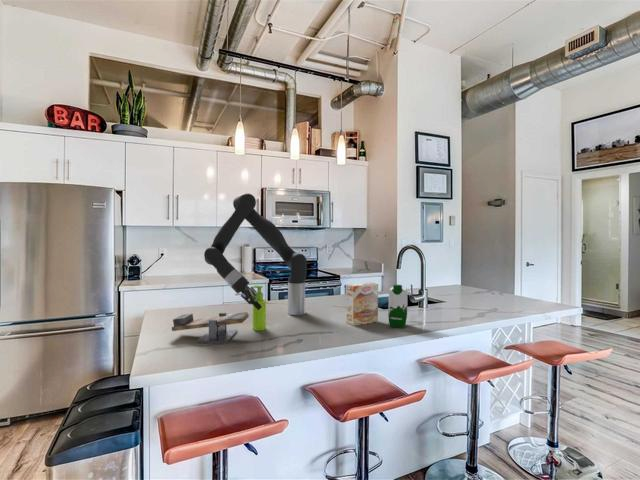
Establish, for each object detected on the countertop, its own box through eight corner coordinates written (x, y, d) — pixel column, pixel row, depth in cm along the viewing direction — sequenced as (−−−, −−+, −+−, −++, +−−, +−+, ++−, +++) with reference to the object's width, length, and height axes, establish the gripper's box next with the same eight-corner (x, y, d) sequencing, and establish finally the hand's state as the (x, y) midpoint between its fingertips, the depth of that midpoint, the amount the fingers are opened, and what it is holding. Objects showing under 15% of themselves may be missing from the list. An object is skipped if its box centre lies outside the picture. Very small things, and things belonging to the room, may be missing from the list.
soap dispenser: (251, 326, 164) (251, 285, 163) (266, 326, 165) (266, 284, 164) (249, 330, 158) (249, 287, 158) (265, 330, 159) (265, 287, 158)
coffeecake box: (353, 326, 167) (353, 285, 166) (345, 322, 173) (345, 283, 172) (378, 322, 174) (378, 283, 173) (370, 319, 180) (370, 281, 179)
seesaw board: (248, 316, 152) (247, 306, 152) (242, 322, 142) (240, 311, 142) (183, 324, 154) (181, 314, 154) (172, 331, 144) (170, 320, 144)
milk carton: (387, 327, 165) (387, 285, 165) (389, 322, 174) (390, 282, 173) (406, 328, 163) (406, 286, 162) (407, 324, 171) (408, 283, 170)
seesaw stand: (237, 332, 156) (237, 312, 156) (225, 343, 140) (225, 321, 140) (211, 331, 157) (211, 311, 157) (196, 343, 141) (196, 321, 141)
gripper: (237, 277, 154) (264, 304, 154) (246, 273, 168) (270, 298, 168) (226, 289, 155) (252, 316, 154) (235, 284, 169) (260, 308, 169)
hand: (261, 306), depth 161 cm, fingers closed on soap dispenser, 6 cm apart
